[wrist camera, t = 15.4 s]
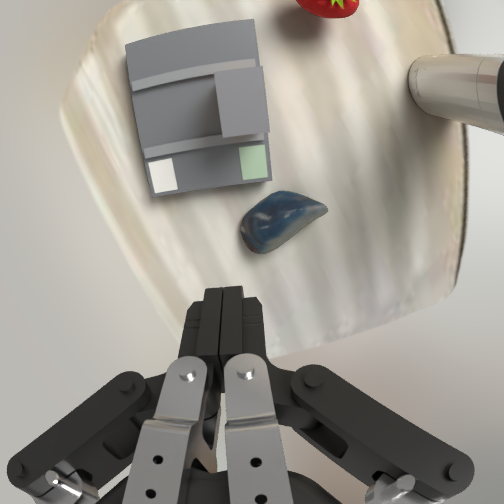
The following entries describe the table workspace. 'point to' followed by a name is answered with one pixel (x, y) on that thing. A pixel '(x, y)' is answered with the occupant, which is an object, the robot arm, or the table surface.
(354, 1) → the strawberry
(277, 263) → the table surface
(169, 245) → the table surface
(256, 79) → the breaker toggle
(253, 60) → the panel
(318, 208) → the seashell
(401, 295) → the table surface
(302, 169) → the table surface
